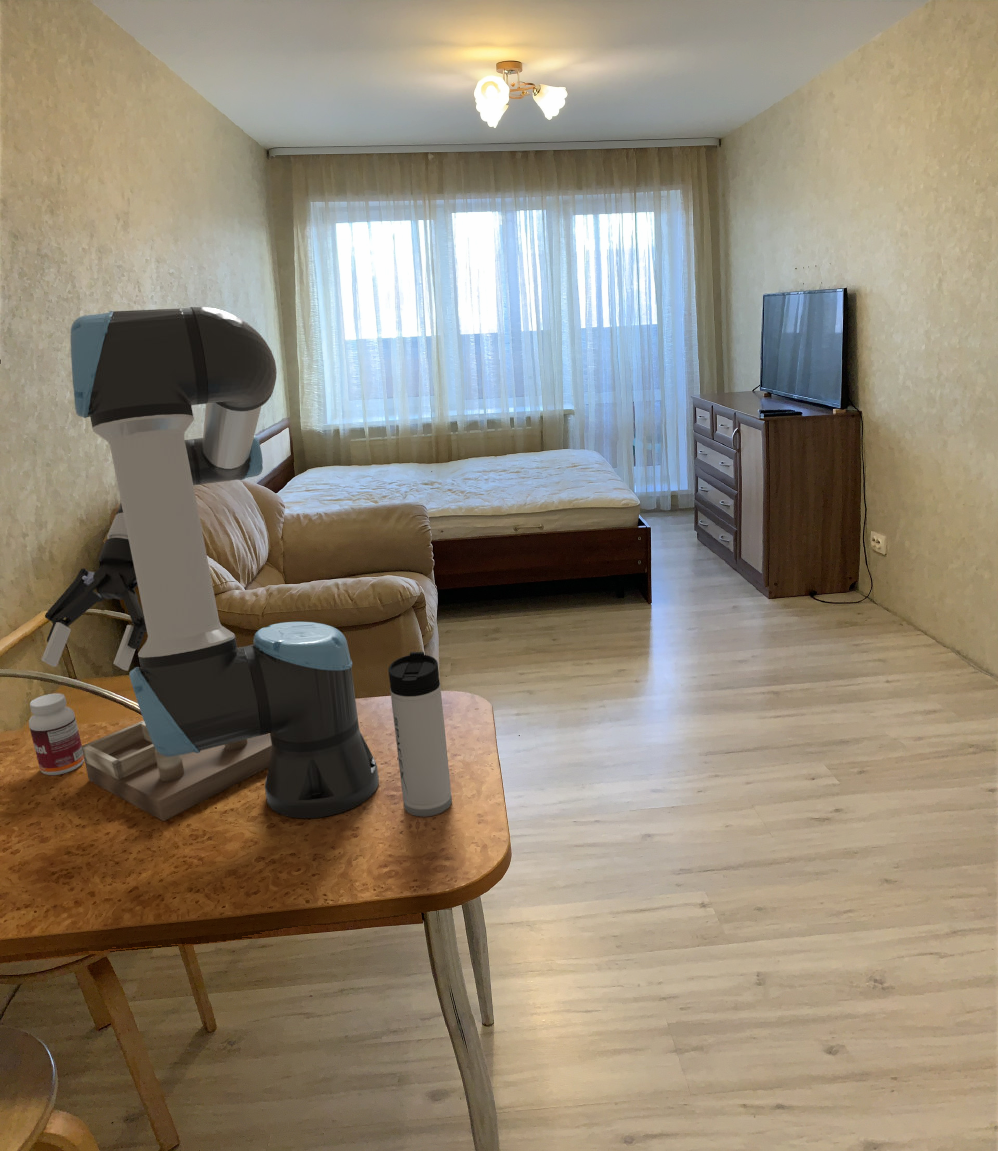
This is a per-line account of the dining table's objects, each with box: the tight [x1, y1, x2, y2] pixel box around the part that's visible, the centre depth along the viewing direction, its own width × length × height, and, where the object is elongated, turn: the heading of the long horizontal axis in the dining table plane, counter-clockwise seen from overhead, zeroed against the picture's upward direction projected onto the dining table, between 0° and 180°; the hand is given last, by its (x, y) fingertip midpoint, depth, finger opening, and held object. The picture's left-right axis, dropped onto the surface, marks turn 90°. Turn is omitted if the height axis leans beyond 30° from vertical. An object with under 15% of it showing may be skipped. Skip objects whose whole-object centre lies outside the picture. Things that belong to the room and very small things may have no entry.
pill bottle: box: [28, 692, 85, 776], centre depth 132 cm, size 6×6×11 cm
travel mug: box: [388, 651, 453, 818], centre depth 112 cm, size 6×7×20 cm
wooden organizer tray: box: [81, 720, 272, 822], centre depth 128 cm, size 20×20×7 cm
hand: (84, 665), depth 138 cm, fingers open, 13 cm apart
